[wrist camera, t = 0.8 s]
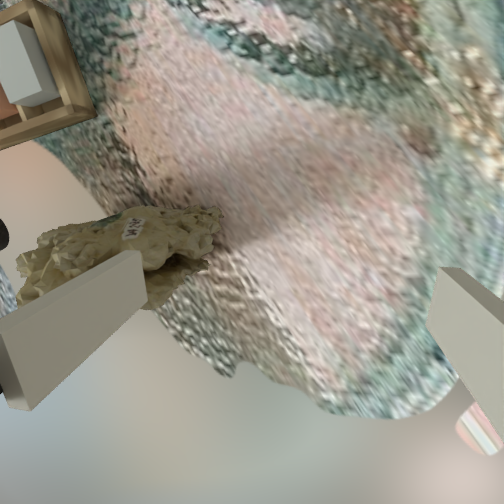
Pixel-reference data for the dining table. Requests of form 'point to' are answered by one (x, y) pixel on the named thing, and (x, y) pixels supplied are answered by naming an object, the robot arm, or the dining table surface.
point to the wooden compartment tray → (64, 72)
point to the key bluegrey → (24, 67)
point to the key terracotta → (6, 105)
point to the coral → (123, 249)
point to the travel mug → (3, 236)
